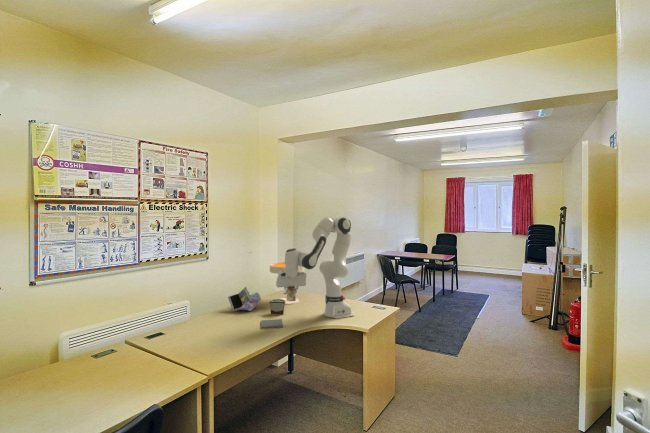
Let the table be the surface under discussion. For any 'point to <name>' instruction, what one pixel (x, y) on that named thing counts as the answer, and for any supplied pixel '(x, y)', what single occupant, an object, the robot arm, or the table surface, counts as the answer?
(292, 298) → the tall wooden block
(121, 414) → the table surface
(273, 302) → the half chocolate cake
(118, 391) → the table surface
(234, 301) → the pastel lumpy piece
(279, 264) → the orange pedestal table
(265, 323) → the mat
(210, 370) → the table surface
